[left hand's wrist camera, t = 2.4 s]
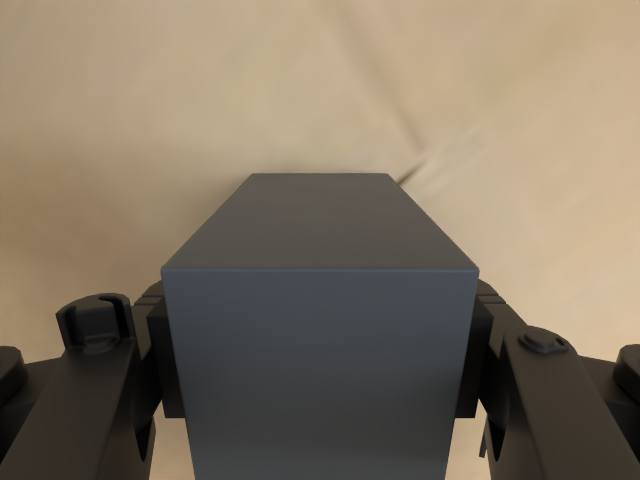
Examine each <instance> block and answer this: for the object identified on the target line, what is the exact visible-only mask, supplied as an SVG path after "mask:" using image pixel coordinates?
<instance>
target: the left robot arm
mask: <svg viewBox="0 0 640 480" xmlns="http://www.w3.org/2000/svg"><path fill="white" fill-rule="evenodd" d="M55 315H56V318H57V322H58V325H59V328H60V332H61V335H62V339H63V342H64V346H65V351H64V353H63V355H62V356H61V357H60V358H55V359H50V360H44V361H39V362H34V363H29V364H25V363H24V360H23V357H22V354H21V352H20V350H18V349H17V348H15V347H10V346H0V480H149V475H150V469H151V462H152V455H153V448H154V441H155V434H156V429H155V422H154V417H153V414H154V412H155V411H156V409H157V407H158V405H159V403H160V401H161V399H162V404H163V409H164V414H165V418H185V415H184V409H183V403H182V397H181V391H180V385H179V379H178V373H177V367H176V361H175V355H174V349H173V343H172V337H171V331H170V325H169V319H168V313H167V307H166V301H165V295H164V289H163V283H162V280H161V281H159V282H157V283H155V284H154V285H152V286H150V287H149V288H148V289H147V290H146V292H145V293H144V294H143V295H142V297H141V298H139V299H138V300H137V301H136V302H135V303H134V306H132V307H131V306H130V301H129V298H128V297H126V296H125V295H122V294H117V293H103V294H97V295H92V296H87V297H84V298H81V299H78V300H76V301H73V302H71V303H69V304H68V305H66V306H64V307H62V308H61V309H60V310H59V311H58V312H57V313H56V314H55ZM478 399H480V401H481V403H482V405H483V407H484V409H485V410H486V412H487V417H486V422H485V427H484V432H483V437H482V441H481V446H480V453H479V457H482V458H484V457H485V452H486V449H487V454H488V461H489V468H490V474H491V480H640V344H633V345H626V346H624V347H623V348H621V349H620V352H619V355H618V357H617V360H616V363H615V362H610V361H605V360H600V359H594V358H589V357H584V356H580V355H578V354H577V352H576V350H575V349H574V347H573V346H572V345H571V344H570V343H569V342H568V341H567V340H565V339H564V338H562V337H561V336H559V335H558V334H555V333H553V332H551V331H548V330H546V329H543V328H538V327H534V326H528V325H527V324H526V323H525V322H524V321H523V320H522V319H521V318H520V317H519V316H518V314H517V313H516V312H515V311H514V310H513V309H512V308H511V307H510V306H509V305H508V304H506V302H505V301H504V300H503V298H502V297H501V296H499V294H498V293H497V292H496V291H495V290H494V289H493V288H492V287H491V286H490V285H489V284H487V283H485V282H484V281H482V280H480V279H478V283H477V289H476V295H475V301H474V307H473V313H472V319H471V325H470V331H469V337H468V343H467V349H466V355H465V361H464V367H463V373H462V379H461V385H460V391H459V397H458V403H457V409H456V415H455V418H475V414H476V409H477V404H478Z"/></svg>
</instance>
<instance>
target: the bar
mask: <svg viewBox="0 0 640 480" xmlns="http://www.w3.org/2000/svg"><path fill="white" fill-rule="evenodd" d="M161 277H162V283H163V289H164V295H165V301H166V307H167V313H168V319H169V325H170V331H171V337H172V343H173V349H174V355H175V361H176V367H177V373H178V379H179V385H180V391H181V397H182V403H183V409H184V415H185V421H186V426H187V432H188V438H189V444H190V450H191V456H192V462H193V468H194V474H195V480H445V474H446V468H447V462H448V457H449V451H450V445H451V439H452V433H453V427H454V421H455V415H456V409H457V403H458V397H459V391H460V385H461V379H462V373H463V367H464V361H465V355H466V349H467V343H468V337H469V331H470V325H471V319H472V313H473V307H474V301H475V295H476V289H477V283H478V277H479V268H478V267H477V266H476V265H475V264H474V263H473V262H472V261H471V260H470V258H469V257H468V256H467V255H466V254H465V253H464V252H463V251H462V250H461V249H460V248H459V247H458V246H457V245H456V244H455V243H454V242H453V241H452V240H451V239H450V238H449V237H448V236H447V235H446V234H445V233H444V232H443V231H442V230H441V229H440V227H439V226H438V225H437V224H436V223H435V222H434V221H433V220H432V219H431V218H430V217H429V216H428V215H427V214H426V213H425V212H424V211H423V210H422V209H421V208H420V207H419V206H418V205H417V204H416V203H415V202H414V201H413V200H412V199H411V198H410V196H409V195H408V194H407V193H406V192H405V191H404V190H403V189H402V188H401V187H400V186H399V185H398V184H397V183H396V182H395V181H394V180H393V179H392V178H391V177H390V176H389V175H388V174H252V175H251V176H250V177H249V178H248V179H247V180H246V181H245V182H244V183H243V184H242V185H241V186H240V187H239V188H238V189H237V190H236V191H235V192H234V193H233V194H232V195H231V197H230V198H229V199H228V200H227V201H226V202H225V203H224V204H223V205H222V206H221V207H220V208H219V209H218V210H217V211H216V212H215V213H214V214H213V215H212V216H211V217H210V218H209V219H208V220H207V221H206V222H205V223H204V224H203V225H202V226H201V228H200V229H199V230H198V231H197V232H196V233H195V234H194V235H193V236H192V237H191V238H190V239H189V240H188V241H187V242H186V243H185V244H184V245H183V246H182V247H181V248H180V249H179V250H178V251H177V252H176V253H175V254H174V255H173V256H172V257H171V259H170V260H169V261H168V262H167V263H166V264H165V265H164V266H163V267H162V268H161Z"/></svg>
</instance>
